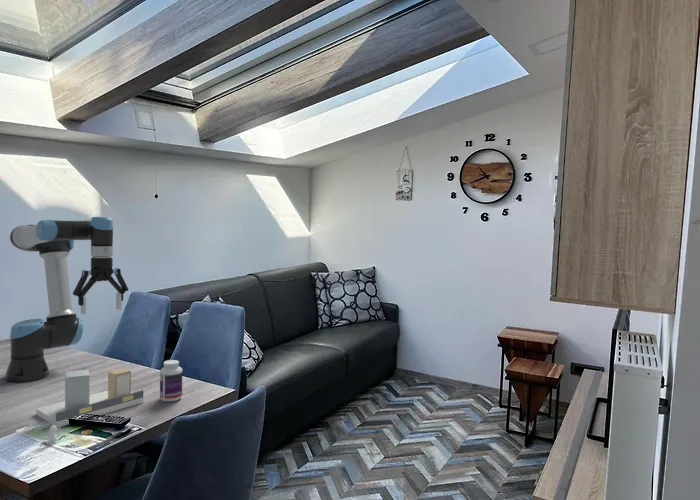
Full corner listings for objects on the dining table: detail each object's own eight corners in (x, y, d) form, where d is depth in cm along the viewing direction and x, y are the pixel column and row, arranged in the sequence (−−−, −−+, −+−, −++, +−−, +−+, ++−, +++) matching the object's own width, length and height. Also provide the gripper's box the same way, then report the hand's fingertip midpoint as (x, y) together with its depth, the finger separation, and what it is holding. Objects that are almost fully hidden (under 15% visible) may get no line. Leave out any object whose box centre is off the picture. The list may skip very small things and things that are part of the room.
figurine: (30, 447, 149) (30, 427, 149) (54, 437, 156) (54, 418, 156) (49, 452, 146) (49, 432, 146) (72, 442, 153) (72, 423, 153)
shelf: (36, 414, 171) (36, 401, 171) (121, 392, 195) (121, 380, 195) (57, 427, 162) (57, 414, 161) (143, 402, 185) (143, 390, 185)
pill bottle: (186, 397, 193) (187, 360, 192) (172, 404, 185) (173, 366, 184) (169, 393, 195) (169, 357, 194) (154, 400, 188) (155, 363, 187)
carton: (107, 397, 183) (108, 371, 183) (123, 393, 188) (124, 367, 187) (115, 401, 180) (115, 374, 180) (130, 397, 185) (131, 370, 184)
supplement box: (89, 411, 171) (89, 375, 170) (64, 414, 167) (64, 377, 166) (88, 403, 177) (89, 368, 177) (65, 406, 174) (65, 371, 173)
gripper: (72, 259, 179) (72, 317, 180) (137, 256, 199) (137, 308, 200) (62, 257, 184) (62, 314, 185) (127, 255, 203) (127, 306, 205)
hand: (101, 311), depth 193 cm, fingers open, 13 cm apart
